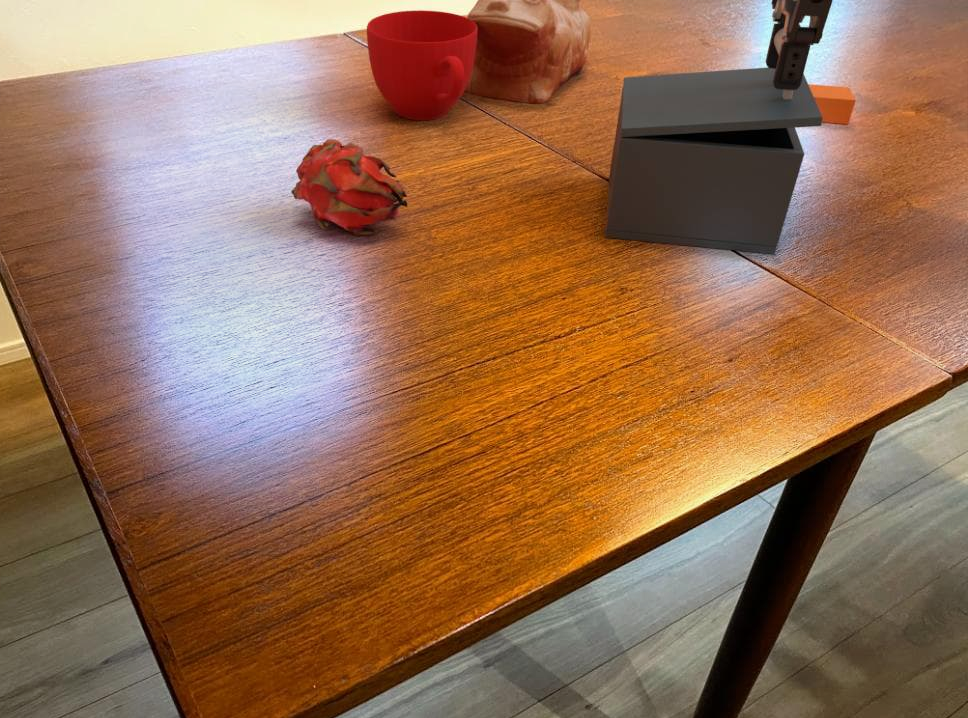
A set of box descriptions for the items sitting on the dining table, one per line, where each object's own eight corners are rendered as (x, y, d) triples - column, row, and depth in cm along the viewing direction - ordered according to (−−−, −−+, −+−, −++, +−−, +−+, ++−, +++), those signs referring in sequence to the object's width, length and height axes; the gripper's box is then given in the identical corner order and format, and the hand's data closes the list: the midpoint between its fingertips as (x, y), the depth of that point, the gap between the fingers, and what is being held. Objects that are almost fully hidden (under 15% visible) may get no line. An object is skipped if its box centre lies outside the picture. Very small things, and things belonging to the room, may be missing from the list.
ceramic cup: (405, 150, 99) (405, 59, 93) (353, 99, 111) (350, 16, 105) (507, 133, 103) (513, 45, 97) (446, 86, 115) (449, 5, 109)
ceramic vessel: (435, 101, 111) (438, -28, 102) (509, 44, 130) (518, -69, 120) (539, 120, 107) (552, -13, 97) (600, 58, 125) (616, -58, 116)
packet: (841, 110, 111) (849, 87, 109) (848, 124, 107) (856, 100, 105) (783, 106, 112) (790, 82, 110) (788, 119, 108) (795, 95, 106)
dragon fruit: (300, 217, 89) (400, 263, 86) (258, 199, 81) (366, 249, 78) (333, 138, 88) (436, 181, 85) (293, 112, 80) (405, 159, 77)
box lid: (798, 73, 84) (806, 11, 81) (821, 126, 74) (831, 57, 71) (623, 85, 88) (623, 26, 85) (621, 137, 78) (621, 72, 74)
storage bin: (759, 191, 92) (784, 98, 86) (774, 254, 82) (804, 153, 76) (608, 178, 94) (622, 85, 88) (605, 237, 84) (620, 137, 78)
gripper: (908, -131, 62) (839, 108, 73) (867, -157, 73) (813, 54, 84) (796, -133, 63) (745, 103, 74) (773, -158, 74) (731, 50, 85)
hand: (781, 76), depth 79 cm, fingers closed on box lid, 5 cm apart
